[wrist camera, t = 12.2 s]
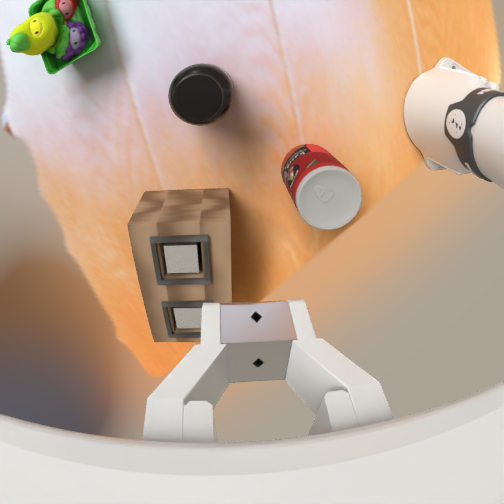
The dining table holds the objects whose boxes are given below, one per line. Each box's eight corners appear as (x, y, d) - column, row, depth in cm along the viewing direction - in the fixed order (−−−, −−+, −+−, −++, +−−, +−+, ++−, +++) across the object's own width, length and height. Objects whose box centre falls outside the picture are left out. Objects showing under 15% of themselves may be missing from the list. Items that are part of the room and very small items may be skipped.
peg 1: (200, 211, 45) (196, 245, 37) (202, 235, 47) (199, 272, 39) (172, 212, 44) (163, 245, 37) (175, 236, 47) (167, 273, 39)
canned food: (292, 134, 41) (314, 156, 32) (342, 155, 43) (374, 183, 34) (271, 183, 44) (285, 218, 35) (320, 200, 47) (344, 238, 37)
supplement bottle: (206, 53, 34) (200, 48, 24) (243, 89, 37) (251, 98, 27) (167, 90, 36) (147, 100, 26) (204, 125, 39) (198, 147, 29)
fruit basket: (113, 48, 32) (78, 45, 22) (59, 78, 32) (14, 88, 23) (91, -18, 25) (54, -36, 16) (38, 15, 26) (-8, 10, 17)
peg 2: (204, 268, 50) (202, 307, 43) (205, 288, 52) (204, 328, 45) (179, 269, 50) (173, 308, 42) (182, 288, 52) (177, 328, 45)
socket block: (228, 188, 44) (230, 224, 35) (230, 297, 55) (232, 344, 46) (144, 191, 43) (126, 227, 34) (161, 298, 54) (153, 344, 45)
